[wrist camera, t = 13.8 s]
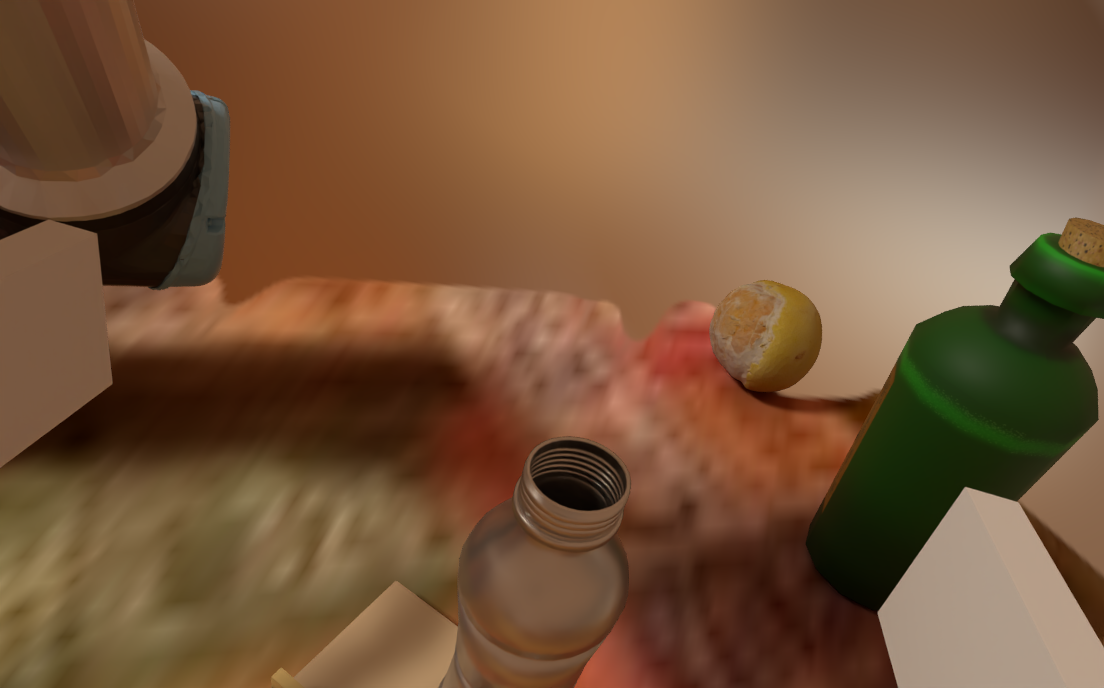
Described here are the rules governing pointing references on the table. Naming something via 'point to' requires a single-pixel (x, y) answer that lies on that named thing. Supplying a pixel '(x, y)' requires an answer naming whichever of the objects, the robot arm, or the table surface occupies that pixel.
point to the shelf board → (383, 648)
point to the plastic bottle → (543, 572)
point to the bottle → (966, 415)
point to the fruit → (766, 335)
